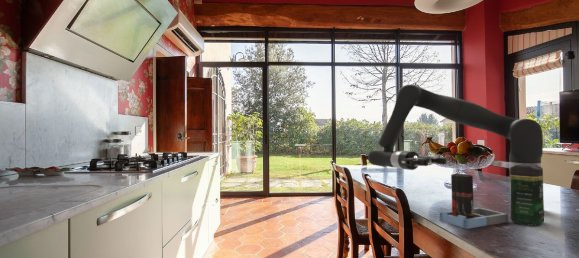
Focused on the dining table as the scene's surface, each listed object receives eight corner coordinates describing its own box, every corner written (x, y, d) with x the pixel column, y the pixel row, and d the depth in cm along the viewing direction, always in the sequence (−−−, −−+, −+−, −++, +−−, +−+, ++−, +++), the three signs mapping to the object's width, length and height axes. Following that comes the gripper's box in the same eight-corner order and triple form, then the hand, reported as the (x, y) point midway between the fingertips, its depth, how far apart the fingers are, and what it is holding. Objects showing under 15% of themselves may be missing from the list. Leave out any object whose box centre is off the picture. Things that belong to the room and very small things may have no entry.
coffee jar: (540, 228, 87) (537, 165, 88) (507, 222, 93) (505, 163, 94) (548, 222, 93) (545, 163, 94) (517, 217, 99) (515, 161, 100)
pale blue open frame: (479, 214, 103) (479, 205, 103) (507, 221, 94) (507, 211, 94) (440, 220, 97) (439, 210, 97) (466, 228, 88) (465, 217, 88)
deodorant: (474, 226, 90) (472, 177, 91) (451, 223, 93) (450, 175, 94) (474, 221, 95) (472, 174, 96) (453, 219, 98) (451, 173, 99)
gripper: (389, 151, 120) (420, 152, 104) (417, 149, 124) (450, 150, 109) (390, 170, 119) (421, 174, 104) (418, 167, 124) (452, 171, 109)
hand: (436, 162), depth 107 cm, fingers open, 8 cm apart
